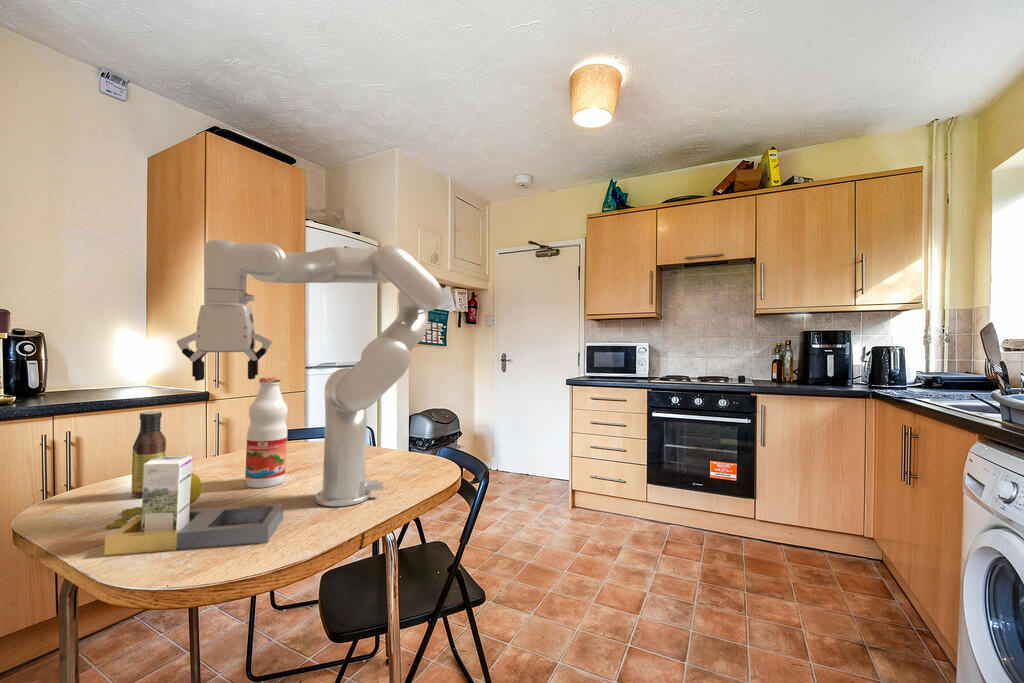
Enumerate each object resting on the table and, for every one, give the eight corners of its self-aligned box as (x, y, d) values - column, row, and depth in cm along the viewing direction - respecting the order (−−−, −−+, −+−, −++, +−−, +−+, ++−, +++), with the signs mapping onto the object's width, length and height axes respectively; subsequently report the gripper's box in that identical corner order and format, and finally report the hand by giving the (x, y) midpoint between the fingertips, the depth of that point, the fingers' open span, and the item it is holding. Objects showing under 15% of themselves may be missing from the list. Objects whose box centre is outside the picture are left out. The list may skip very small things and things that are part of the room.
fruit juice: (290, 477, 120) (294, 377, 121) (278, 488, 111) (282, 379, 111) (253, 478, 118) (258, 376, 119) (238, 489, 109) (243, 378, 110)
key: (121, 523, 84) (91, 525, 83) (121, 530, 84) (91, 532, 83) (158, 503, 96) (133, 504, 95) (158, 509, 96) (132, 510, 95)
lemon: (183, 513, 93) (185, 476, 93) (162, 510, 94) (164, 473, 94) (206, 504, 98) (208, 469, 98) (186, 502, 99) (188, 467, 99)
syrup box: (190, 528, 85) (193, 454, 85) (175, 541, 79) (179, 461, 79) (155, 530, 83) (159, 455, 83) (138, 544, 77) (142, 463, 78)
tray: (283, 517, 92) (283, 503, 92) (267, 542, 80) (268, 526, 80) (143, 527, 85) (143, 512, 85) (104, 555, 73) (105, 538, 73)
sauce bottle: (144, 490, 106) (148, 409, 107) (171, 490, 107) (175, 410, 107) (123, 499, 100) (127, 413, 100) (151, 499, 100) (155, 413, 101)
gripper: (275, 302, 98) (275, 377, 98) (185, 300, 93) (185, 379, 93) (267, 299, 91) (267, 379, 91) (169, 296, 86) (169, 382, 86)
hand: (226, 379), depth 92 cm, fingers open, 9 cm apart
